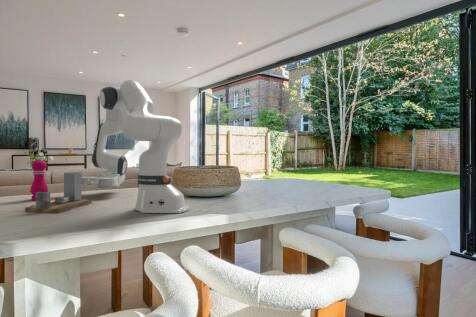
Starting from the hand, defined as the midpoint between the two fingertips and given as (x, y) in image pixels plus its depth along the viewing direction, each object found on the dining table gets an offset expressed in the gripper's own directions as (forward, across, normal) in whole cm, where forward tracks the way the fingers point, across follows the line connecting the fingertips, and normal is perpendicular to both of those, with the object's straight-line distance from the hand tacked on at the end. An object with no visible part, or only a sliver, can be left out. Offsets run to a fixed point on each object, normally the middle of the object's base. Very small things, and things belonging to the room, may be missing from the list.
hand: (88, 182), depth 157 cm
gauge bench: (+20, 0, +8) cm, 22 cm away
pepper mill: (+5, -22, +8) cm, 24 cm away
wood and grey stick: (+21, -3, +6) cm, 22 cm away
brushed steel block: (+15, 0, +6) cm, 16 cm away
